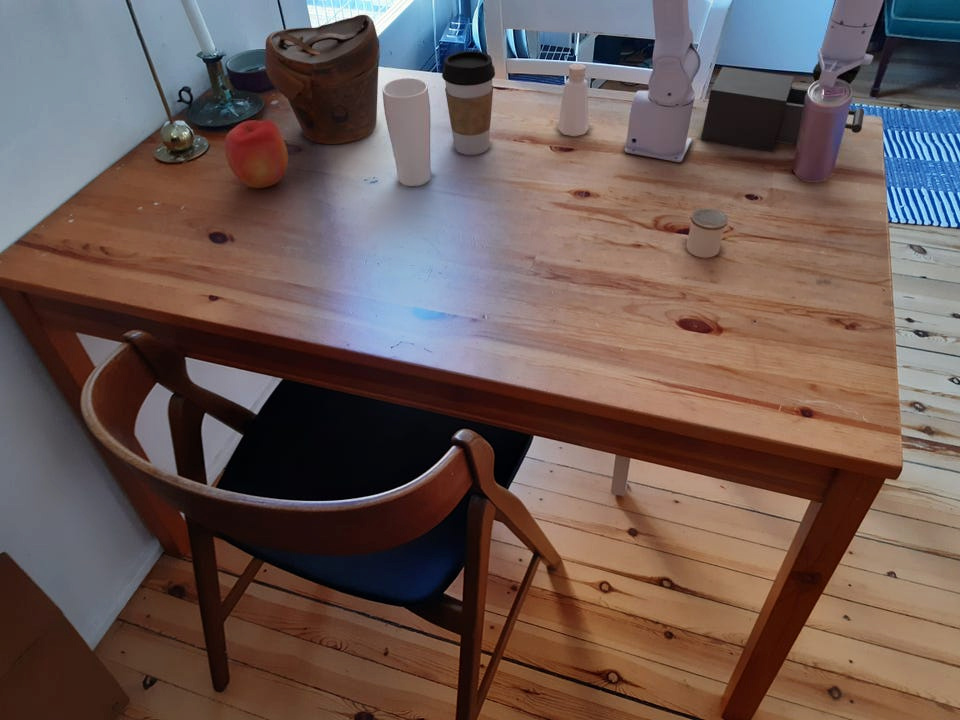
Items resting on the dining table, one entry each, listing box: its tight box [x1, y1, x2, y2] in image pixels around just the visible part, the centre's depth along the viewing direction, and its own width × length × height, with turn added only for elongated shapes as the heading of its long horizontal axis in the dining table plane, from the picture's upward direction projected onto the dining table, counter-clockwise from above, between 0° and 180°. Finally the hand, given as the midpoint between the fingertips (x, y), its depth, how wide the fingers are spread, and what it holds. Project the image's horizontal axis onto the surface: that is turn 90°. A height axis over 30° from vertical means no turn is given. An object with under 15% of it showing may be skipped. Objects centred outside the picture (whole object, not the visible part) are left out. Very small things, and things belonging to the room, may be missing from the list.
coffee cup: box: [441, 50, 496, 156], centre depth 115 cm, size 8×8×15 cm
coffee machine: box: [700, 66, 795, 152], centre depth 118 cm, size 12×10×9 cm
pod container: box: [685, 207, 729, 259], centre depth 96 cm, size 5×5×5 cm
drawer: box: [775, 86, 865, 146], centre depth 115 cm, size 15×8×7 cm, turn 66°
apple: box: [224, 119, 289, 189], centre depth 111 cm, size 10×10×10 cm
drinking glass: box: [381, 77, 432, 187], centre depth 108 cm, size 7×7×15 cm
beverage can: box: [792, 78, 853, 183], centre depth 104 cm, size 6×6×15 cm
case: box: [264, 14, 381, 145], centre depth 120 cm, size 18×20×18 cm
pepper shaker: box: [557, 62, 590, 137], centre depth 120 cm, size 5×5×11 cm
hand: (821, 115), depth 105 cm, fingers closed
